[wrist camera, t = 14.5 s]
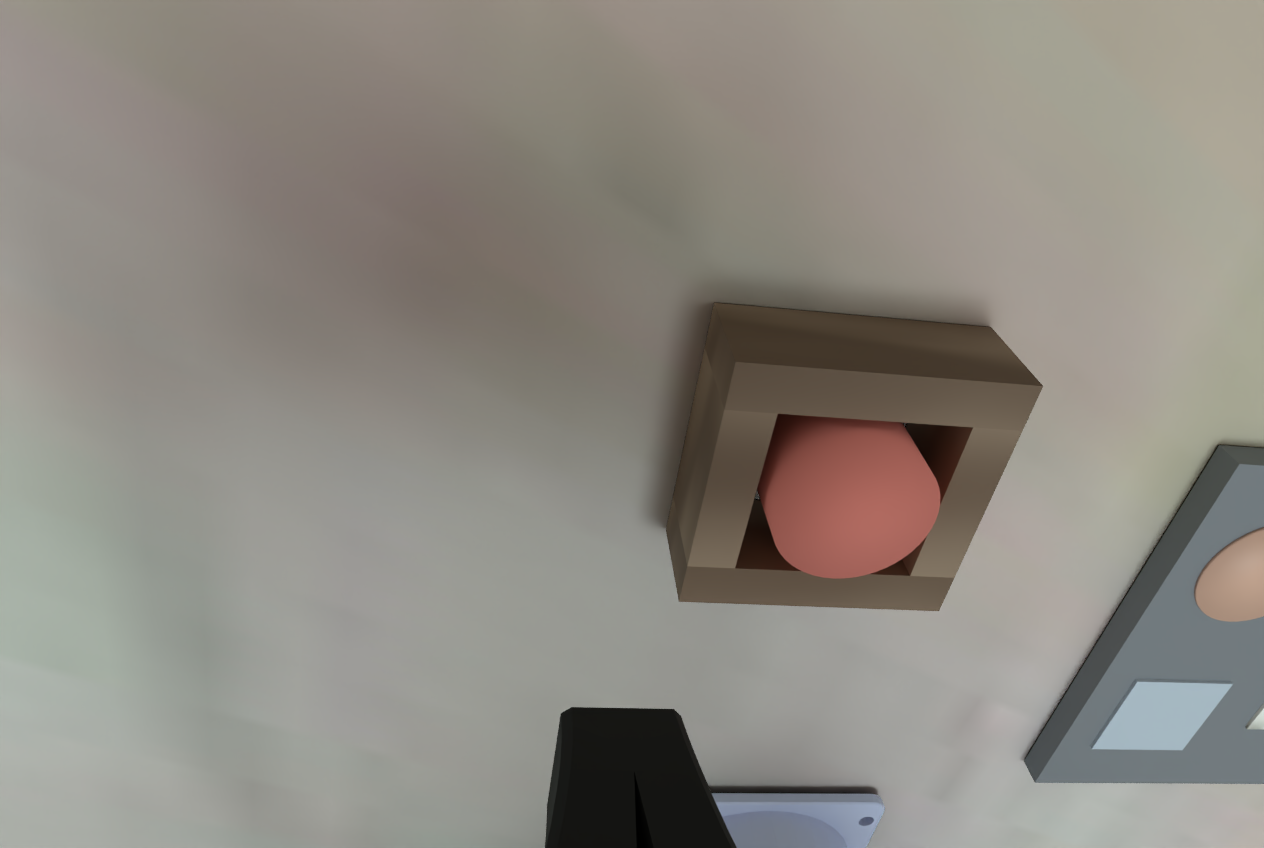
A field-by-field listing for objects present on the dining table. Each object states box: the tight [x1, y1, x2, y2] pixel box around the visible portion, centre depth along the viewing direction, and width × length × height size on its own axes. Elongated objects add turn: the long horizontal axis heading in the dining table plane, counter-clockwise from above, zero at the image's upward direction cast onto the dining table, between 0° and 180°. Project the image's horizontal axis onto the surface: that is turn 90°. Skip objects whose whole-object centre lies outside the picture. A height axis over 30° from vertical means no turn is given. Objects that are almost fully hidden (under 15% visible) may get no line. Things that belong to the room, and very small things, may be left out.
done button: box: [757, 414, 940, 579], centre depth 20 cm, size 4×4×3 cm
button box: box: [666, 303, 1043, 611], centre depth 20 cm, size 6×6×2 cm
